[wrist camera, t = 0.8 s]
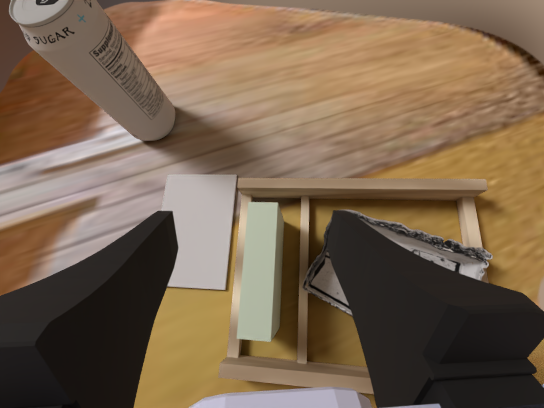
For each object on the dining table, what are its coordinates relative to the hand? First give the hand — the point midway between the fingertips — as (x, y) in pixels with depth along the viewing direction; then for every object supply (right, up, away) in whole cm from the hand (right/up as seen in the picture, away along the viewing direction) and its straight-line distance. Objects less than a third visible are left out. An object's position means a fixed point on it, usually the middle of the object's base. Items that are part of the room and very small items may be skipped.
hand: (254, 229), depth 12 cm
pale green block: (+1, -5, +14) cm, 15 cm away
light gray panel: (-7, -1, +16) cm, 18 cm away
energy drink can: (-14, +11, +21) cm, 27 cm away
